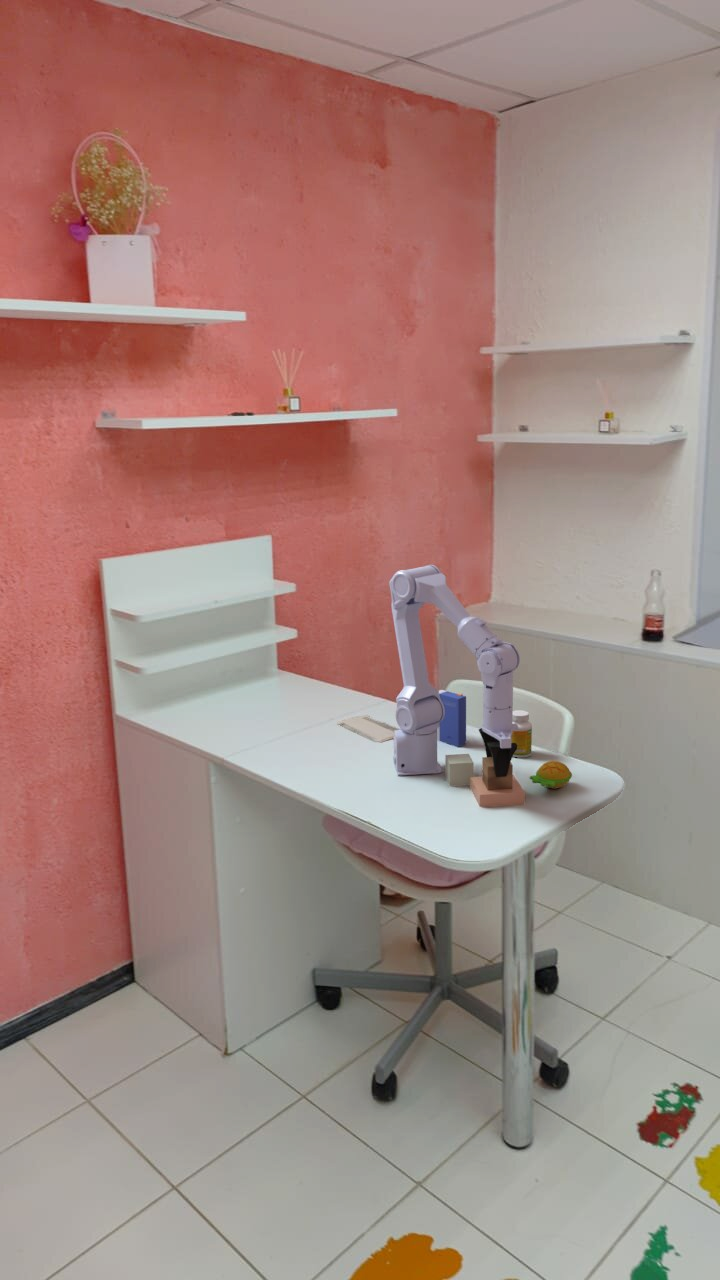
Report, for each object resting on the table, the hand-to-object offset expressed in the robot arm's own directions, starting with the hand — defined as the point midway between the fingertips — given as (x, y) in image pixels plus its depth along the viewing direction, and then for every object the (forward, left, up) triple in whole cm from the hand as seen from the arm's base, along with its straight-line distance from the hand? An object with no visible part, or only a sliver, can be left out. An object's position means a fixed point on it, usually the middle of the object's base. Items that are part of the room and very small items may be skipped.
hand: (497, 769), depth 192 cm
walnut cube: (0, 0, -3) cm, 3 cm away
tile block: (0, 0, -6) cm, 6 cm away
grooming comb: (-21, +44, -6) cm, 49 cm away
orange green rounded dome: (+12, +2, -6) cm, 13 cm away
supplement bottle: (+10, +22, -6) cm, 25 cm away
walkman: (-4, +32, -6) cm, 33 cm away
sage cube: (-6, +9, -6) cm, 12 cm away
